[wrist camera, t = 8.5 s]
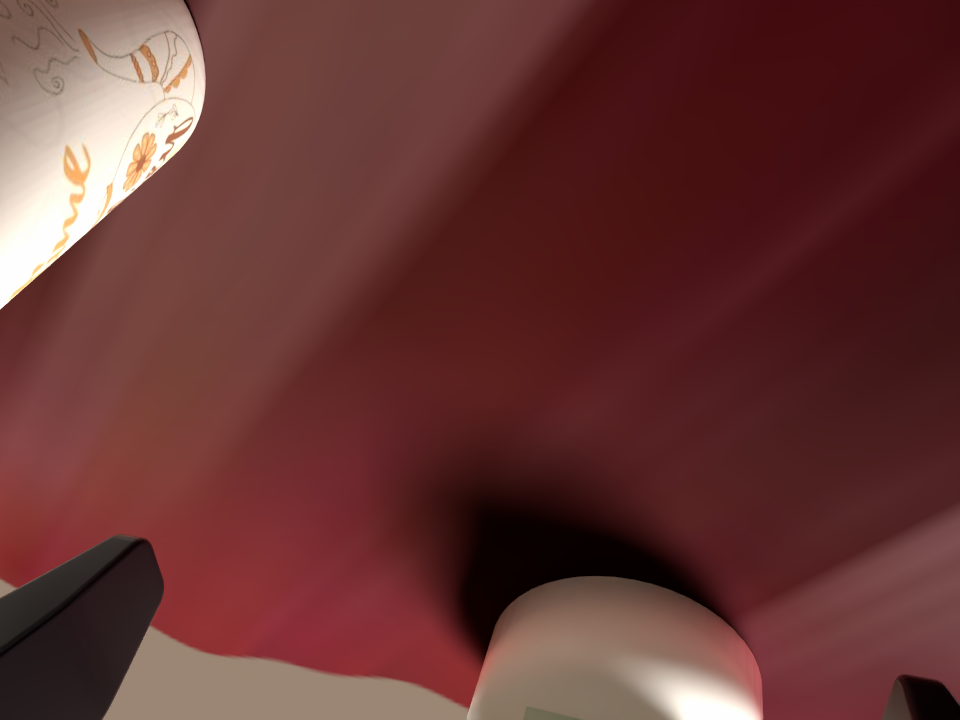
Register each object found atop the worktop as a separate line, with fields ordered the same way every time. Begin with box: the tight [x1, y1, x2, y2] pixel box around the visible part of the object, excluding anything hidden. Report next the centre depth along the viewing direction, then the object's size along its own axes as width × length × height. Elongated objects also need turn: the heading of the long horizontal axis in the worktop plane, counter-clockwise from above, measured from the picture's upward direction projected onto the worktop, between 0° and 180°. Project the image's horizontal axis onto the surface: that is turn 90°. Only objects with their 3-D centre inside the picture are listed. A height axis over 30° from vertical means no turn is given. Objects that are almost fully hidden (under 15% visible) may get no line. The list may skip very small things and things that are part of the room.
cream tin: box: [466, 576, 763, 720], centre depth 26 cm, size 9×9×4 cm
